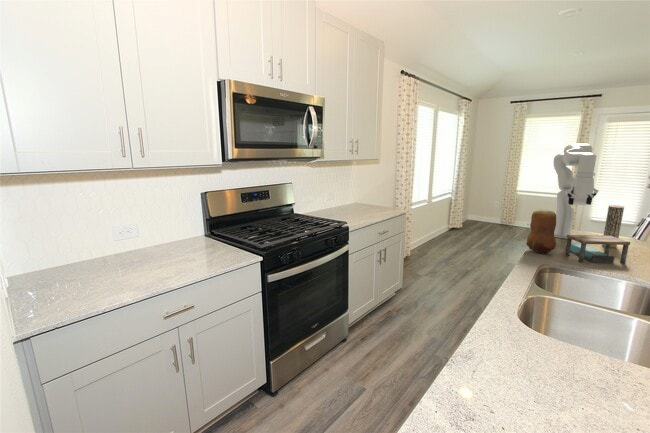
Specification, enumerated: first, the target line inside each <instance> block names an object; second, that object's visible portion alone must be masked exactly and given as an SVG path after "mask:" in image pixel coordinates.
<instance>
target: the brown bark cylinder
mask: <svg viewBox="0 0 650 433" xmlns="http://www.w3.org/2000/svg"><path fill="white" fill-rule="evenodd" d="M624 210H625V206H624V205H619V204H617V205H616V204H609V205H608V208H607V214H606V220H605V225H604V230H603V235H605V236H613V237H616V238H619V237H620V231H621V227H622V226H621V225H622V222H623V215H624ZM619 239H620V238H619ZM601 245H602V246H603V247H605V245H606V244H601ZM617 247H618V245H610V249H612V248H615V249H616V248H617Z"/></svg>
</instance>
